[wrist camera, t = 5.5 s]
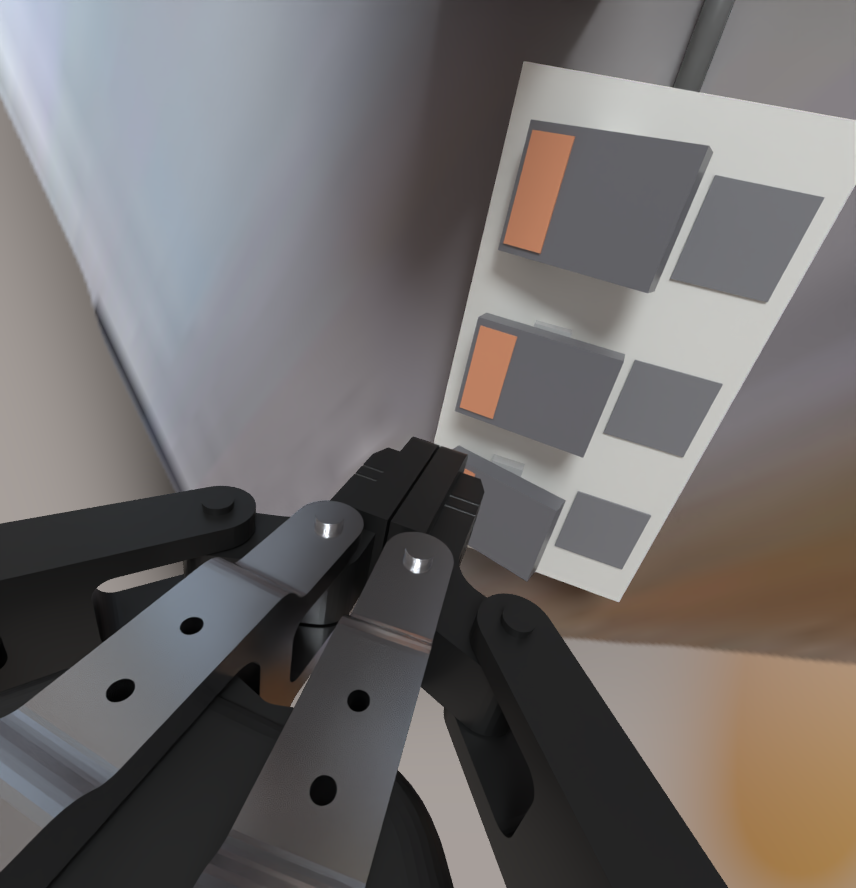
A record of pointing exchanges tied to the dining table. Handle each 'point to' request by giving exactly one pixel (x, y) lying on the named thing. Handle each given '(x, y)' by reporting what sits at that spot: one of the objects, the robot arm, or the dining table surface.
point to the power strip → (655, 297)
